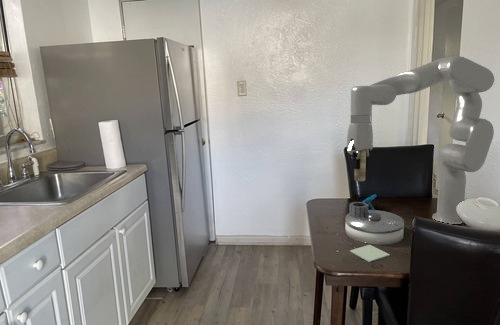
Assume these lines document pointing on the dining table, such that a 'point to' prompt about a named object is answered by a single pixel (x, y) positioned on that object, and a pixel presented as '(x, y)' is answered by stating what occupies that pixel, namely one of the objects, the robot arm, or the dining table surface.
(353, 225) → the chuck collar
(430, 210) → the dining table surface
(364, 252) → the mat
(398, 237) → the chuck base
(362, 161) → the beige cylinder
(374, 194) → the teal angled piece
